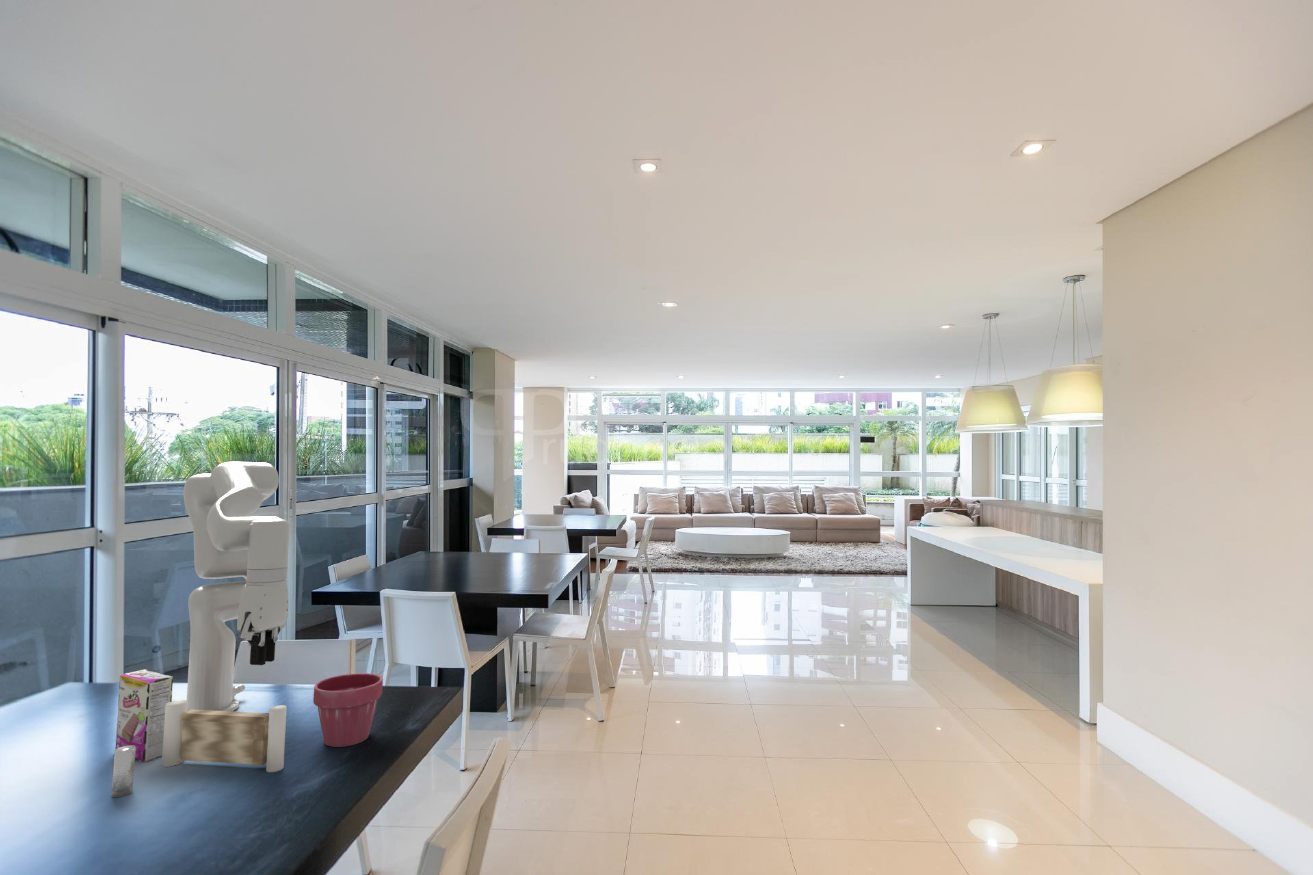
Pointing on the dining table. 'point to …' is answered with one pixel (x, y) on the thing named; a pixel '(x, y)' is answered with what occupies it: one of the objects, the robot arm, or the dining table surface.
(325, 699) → the plant pot
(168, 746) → the gate posts
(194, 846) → the dining table surface
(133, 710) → the candy bar box
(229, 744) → the gate
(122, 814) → the dining table surface
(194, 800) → the dining table surface
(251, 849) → the dining table surface
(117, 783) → the post
